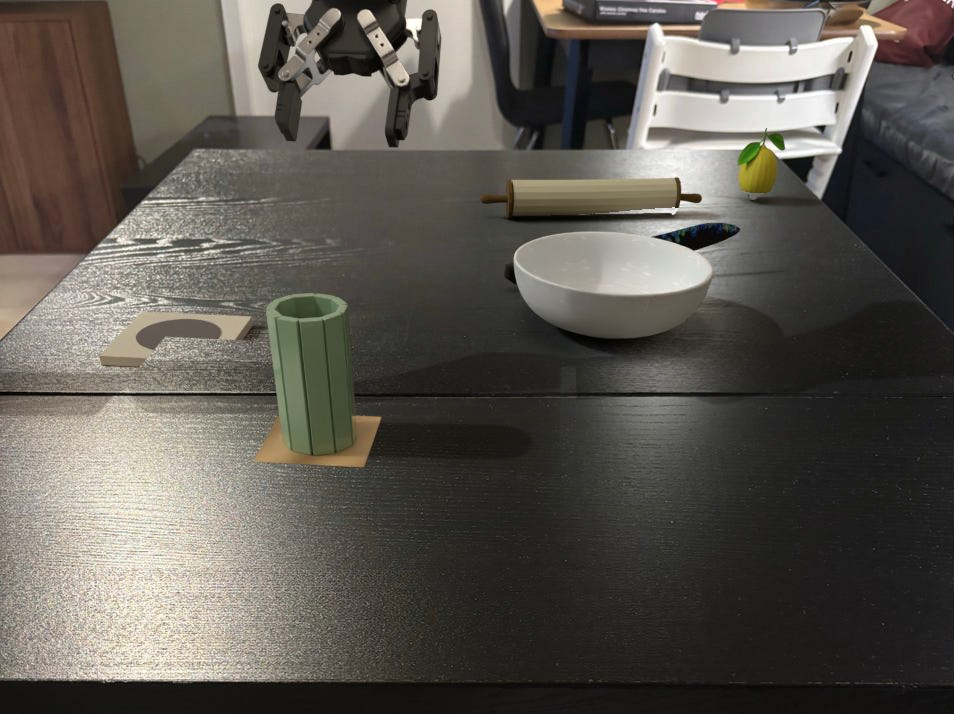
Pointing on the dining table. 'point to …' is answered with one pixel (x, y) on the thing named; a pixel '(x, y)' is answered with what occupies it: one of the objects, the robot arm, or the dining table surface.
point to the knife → (678, 239)
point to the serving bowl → (611, 282)
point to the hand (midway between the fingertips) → (339, 138)
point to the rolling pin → (589, 196)
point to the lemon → (759, 165)
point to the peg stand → (348, 457)
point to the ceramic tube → (313, 372)
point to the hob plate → (170, 334)
